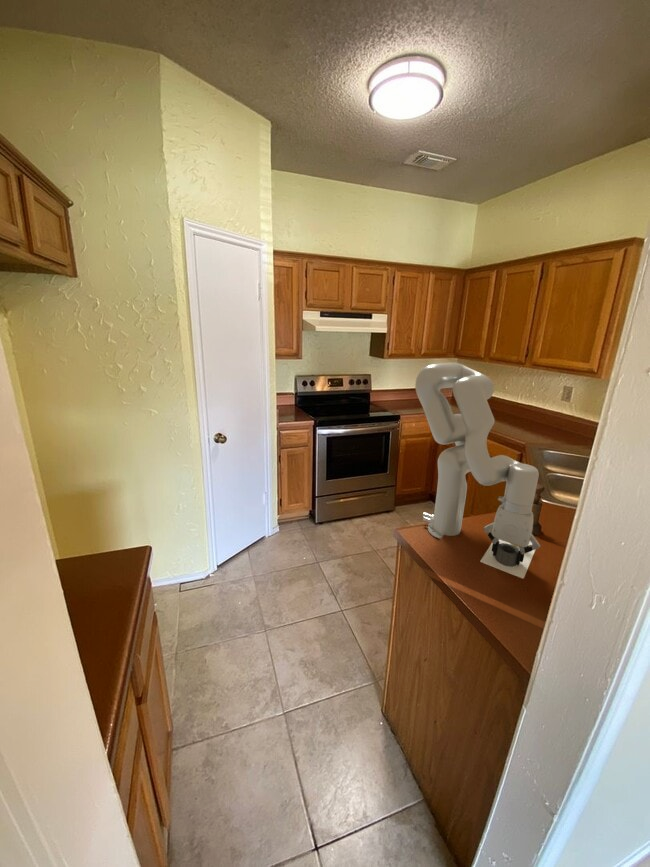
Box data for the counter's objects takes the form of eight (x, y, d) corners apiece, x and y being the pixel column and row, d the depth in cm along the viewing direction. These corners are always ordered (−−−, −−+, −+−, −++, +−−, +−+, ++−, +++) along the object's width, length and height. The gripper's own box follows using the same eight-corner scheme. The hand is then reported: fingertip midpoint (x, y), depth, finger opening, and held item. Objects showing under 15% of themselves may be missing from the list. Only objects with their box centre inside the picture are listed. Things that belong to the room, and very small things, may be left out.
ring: (493, 560, 111) (495, 549, 110) (498, 552, 115) (500, 541, 114) (514, 569, 107) (516, 557, 106) (518, 559, 112) (521, 548, 110)
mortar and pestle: (521, 532, 129) (531, 486, 124) (518, 523, 135) (527, 479, 130) (542, 536, 128) (553, 489, 122) (538, 526, 134) (548, 482, 128)
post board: (479, 565, 111) (485, 532, 107) (499, 533, 129) (505, 504, 125) (522, 583, 104) (530, 548, 100) (537, 546, 122) (544, 515, 118)
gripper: (482, 500, 108) (473, 552, 113) (548, 520, 98) (535, 576, 103) (489, 492, 114) (481, 542, 119) (553, 510, 103) (540, 564, 109)
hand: (506, 557), depth 111 cm, fingers closed on ring, 6 cm apart
